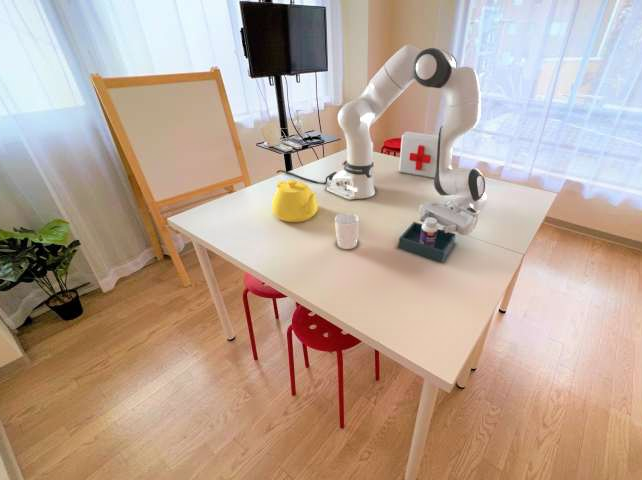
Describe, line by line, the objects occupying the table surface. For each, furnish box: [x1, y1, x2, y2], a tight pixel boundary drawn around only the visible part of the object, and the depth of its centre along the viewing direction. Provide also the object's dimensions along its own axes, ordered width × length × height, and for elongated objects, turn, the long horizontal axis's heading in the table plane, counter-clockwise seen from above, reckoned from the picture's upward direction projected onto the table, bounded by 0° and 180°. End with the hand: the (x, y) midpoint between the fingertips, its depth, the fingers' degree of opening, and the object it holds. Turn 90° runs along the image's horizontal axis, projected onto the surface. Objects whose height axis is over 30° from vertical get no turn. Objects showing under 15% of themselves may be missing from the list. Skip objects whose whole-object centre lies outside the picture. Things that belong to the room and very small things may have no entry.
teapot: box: [271, 179, 319, 223], centre depth 118 cm, size 25×18×14 cm
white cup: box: [334, 212, 360, 250], centre depth 103 cm, size 8×8×10 cm
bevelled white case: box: [398, 131, 439, 179], centre depth 154 cm, size 21×8×20 cm, turn 68°
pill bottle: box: [419, 217, 439, 247], centre depth 103 cm, size 5×5×10 cm
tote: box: [397, 221, 457, 263], centre depth 105 cm, size 16×13×4 cm
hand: (432, 224), depth 102 cm, fingers open, 8 cm apart
